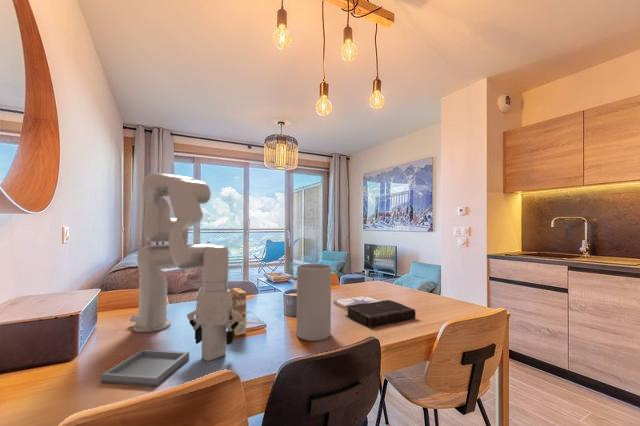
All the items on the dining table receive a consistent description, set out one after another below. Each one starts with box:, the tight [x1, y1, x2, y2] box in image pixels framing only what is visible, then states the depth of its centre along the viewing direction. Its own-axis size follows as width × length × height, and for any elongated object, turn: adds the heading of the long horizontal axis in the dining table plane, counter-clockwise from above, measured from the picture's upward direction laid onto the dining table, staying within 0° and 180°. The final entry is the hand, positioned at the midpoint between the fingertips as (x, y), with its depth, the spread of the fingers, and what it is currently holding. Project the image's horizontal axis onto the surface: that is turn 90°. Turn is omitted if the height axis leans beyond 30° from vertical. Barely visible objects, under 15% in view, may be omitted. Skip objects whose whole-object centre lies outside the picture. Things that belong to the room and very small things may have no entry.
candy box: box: [228, 287, 247, 336], centre depth 111 cm, size 9×4×15 cm, turn 33°
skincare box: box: [201, 320, 227, 362], centre depth 90 cm, size 6×4×12 cm
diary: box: [344, 299, 417, 329], centre depth 129 cm, size 19×25×5 cm
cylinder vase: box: [295, 263, 332, 342], centre depth 108 cm, size 12×12×25 cm
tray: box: [100, 349, 190, 387], centre depth 82 cm, size 15×15×2 cm
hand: (214, 342), depth 90 cm, fingers open, 9 cm apart
